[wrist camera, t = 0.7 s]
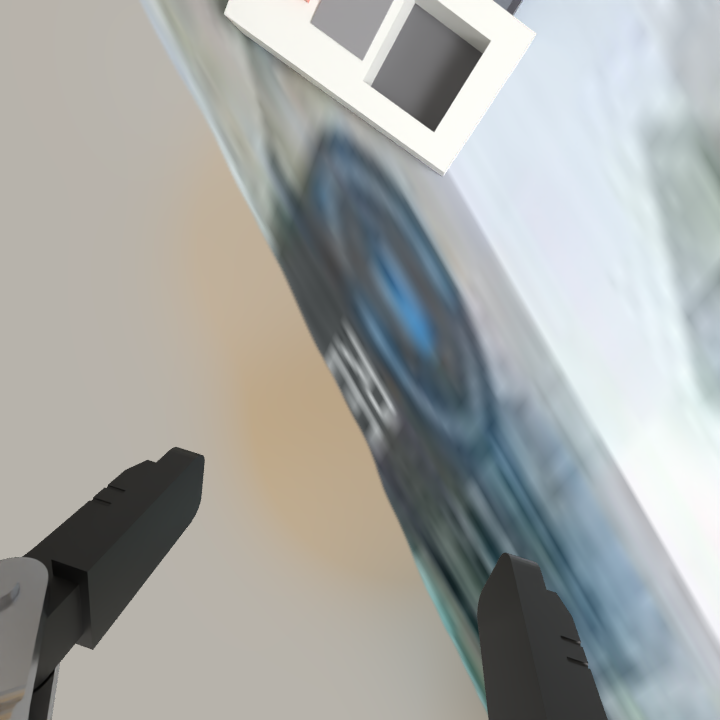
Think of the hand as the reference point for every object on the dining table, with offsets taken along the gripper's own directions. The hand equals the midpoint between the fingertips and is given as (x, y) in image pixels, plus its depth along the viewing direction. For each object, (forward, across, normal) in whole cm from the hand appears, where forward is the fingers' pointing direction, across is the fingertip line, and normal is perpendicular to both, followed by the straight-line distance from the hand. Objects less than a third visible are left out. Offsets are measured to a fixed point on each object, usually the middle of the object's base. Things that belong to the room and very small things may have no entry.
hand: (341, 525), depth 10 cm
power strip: (+26, +7, -18) cm, 32 cm away
